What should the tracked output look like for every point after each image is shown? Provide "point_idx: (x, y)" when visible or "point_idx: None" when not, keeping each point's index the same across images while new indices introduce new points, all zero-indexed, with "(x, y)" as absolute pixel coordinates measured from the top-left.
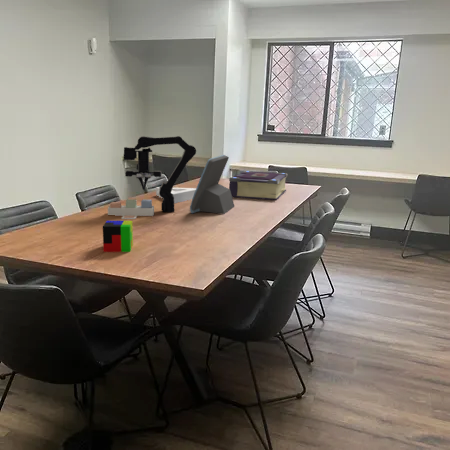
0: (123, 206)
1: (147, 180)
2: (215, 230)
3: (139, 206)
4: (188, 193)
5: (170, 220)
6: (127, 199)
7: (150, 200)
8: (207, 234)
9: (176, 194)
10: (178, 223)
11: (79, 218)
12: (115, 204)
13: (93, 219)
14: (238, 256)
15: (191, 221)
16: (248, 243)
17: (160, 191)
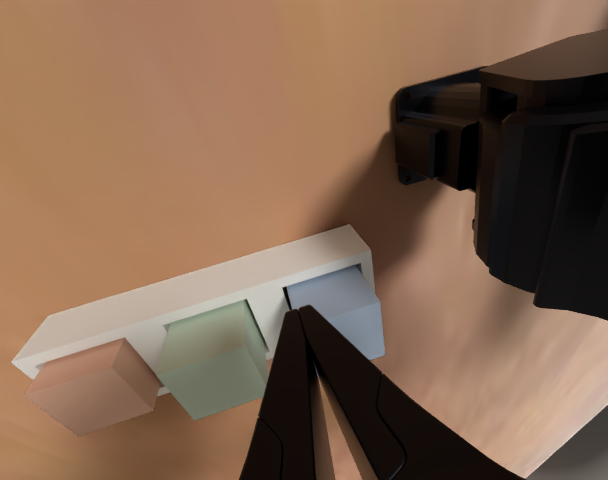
0: (156, 351)
1: (456, 450)
2: (562, 374)
3: (273, 309)
4: None
5: (446, 332)
6: (163, 375)
7: (376, 332)
8: (529, 407)
9: None
10: (472, 356)
11: (17, 459)
12: (121, 418)
13: (106, 443)
14: (539, 465)
15: (524, 316)
16: (586, 418)
17: (519, 285)
